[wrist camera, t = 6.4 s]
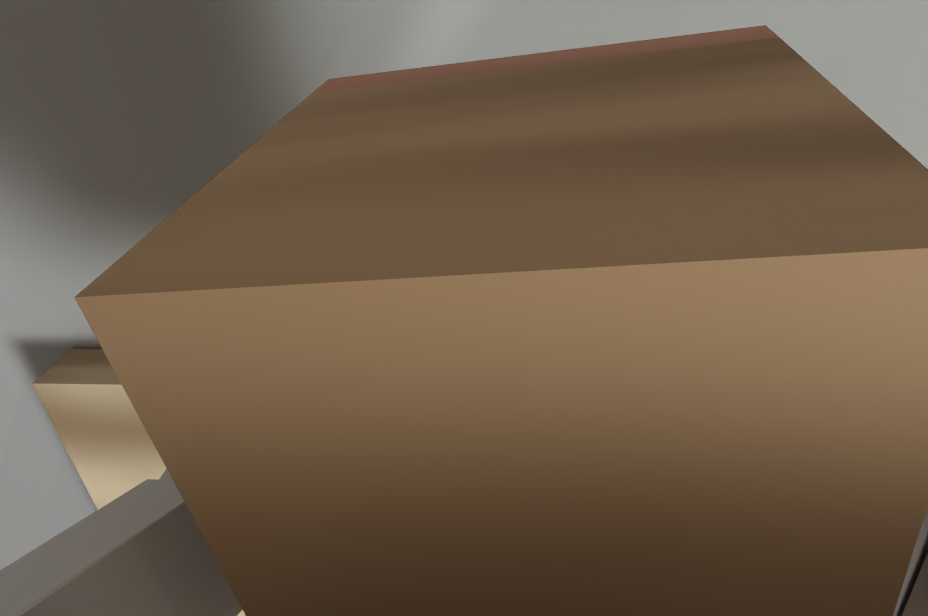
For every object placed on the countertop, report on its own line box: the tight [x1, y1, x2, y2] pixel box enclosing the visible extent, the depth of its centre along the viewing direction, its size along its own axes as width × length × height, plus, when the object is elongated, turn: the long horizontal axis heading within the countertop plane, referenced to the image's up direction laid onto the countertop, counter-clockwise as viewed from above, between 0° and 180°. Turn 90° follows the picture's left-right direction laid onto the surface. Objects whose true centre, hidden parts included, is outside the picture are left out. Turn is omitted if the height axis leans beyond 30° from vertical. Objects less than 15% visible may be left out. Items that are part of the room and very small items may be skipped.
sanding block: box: [75, 25, 928, 616], centre depth 8 cm, size 8×5×5 cm, turn 8°
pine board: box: [32, 349, 246, 616], centre depth 25 cm, size 16×12×2 cm
